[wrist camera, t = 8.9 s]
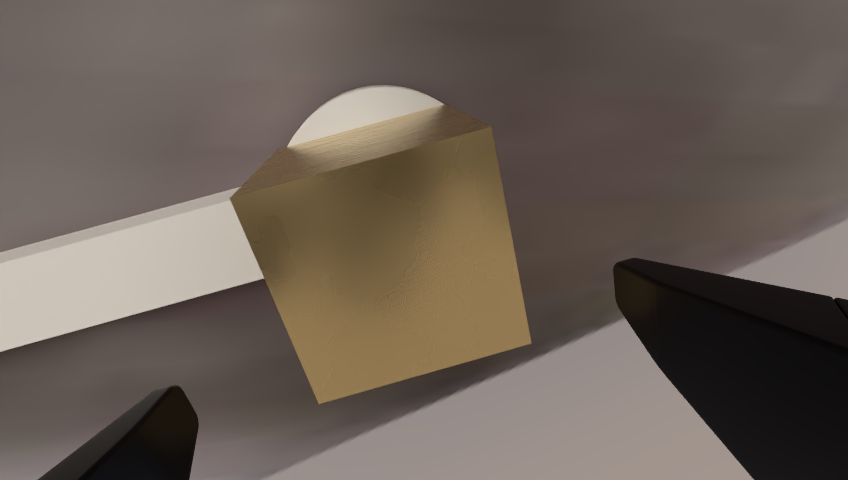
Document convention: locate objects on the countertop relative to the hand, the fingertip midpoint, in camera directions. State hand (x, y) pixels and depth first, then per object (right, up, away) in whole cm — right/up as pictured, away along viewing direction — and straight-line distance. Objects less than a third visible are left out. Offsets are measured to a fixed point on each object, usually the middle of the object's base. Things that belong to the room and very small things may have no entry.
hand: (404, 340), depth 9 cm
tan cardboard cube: (-1, +3, +8) cm, 8 cm away
